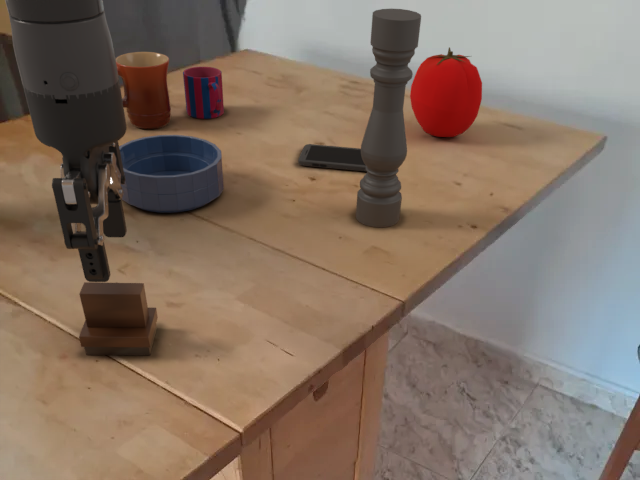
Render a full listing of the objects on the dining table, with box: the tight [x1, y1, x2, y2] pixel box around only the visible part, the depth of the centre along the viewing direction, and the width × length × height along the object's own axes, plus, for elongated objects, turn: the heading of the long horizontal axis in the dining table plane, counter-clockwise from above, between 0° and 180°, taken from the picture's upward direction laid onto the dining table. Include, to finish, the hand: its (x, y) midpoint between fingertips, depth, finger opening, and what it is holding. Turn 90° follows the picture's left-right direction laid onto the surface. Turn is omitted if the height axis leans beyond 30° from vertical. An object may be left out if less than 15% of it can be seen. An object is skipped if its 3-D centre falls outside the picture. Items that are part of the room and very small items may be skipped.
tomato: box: [409, 47, 483, 138], centre depth 116 cm, size 12×12×13 cm
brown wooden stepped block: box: [78, 281, 159, 356], centre depth 71 cm, size 7×6×6 cm
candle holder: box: [355, 8, 422, 228], centre depth 88 cm, size 6×6×25 cm
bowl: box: [119, 134, 225, 214], centre depth 98 cm, size 15×15×6 cm
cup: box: [182, 66, 225, 120], centre depth 121 cm, size 7×10×7 cm
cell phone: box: [297, 143, 367, 173], centre depth 110 cm, size 7×14×1 cm, turn 81°
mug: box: [115, 51, 172, 130], centre depth 116 cm, size 12×9×10 cm
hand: (107, 256), depth 66 cm, fingers open, 8 cm apart
